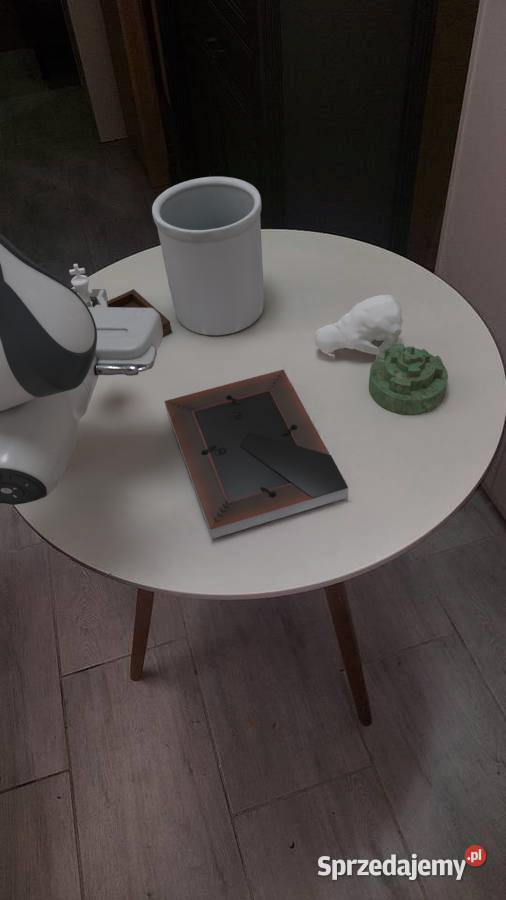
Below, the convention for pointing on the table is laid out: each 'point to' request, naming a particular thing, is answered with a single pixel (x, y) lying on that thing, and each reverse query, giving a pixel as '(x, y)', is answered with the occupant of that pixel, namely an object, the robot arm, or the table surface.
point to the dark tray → (138, 306)
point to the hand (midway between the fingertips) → (86, 293)
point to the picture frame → (253, 453)
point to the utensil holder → (212, 253)
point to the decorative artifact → (407, 380)
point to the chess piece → (81, 284)
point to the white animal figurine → (363, 327)
